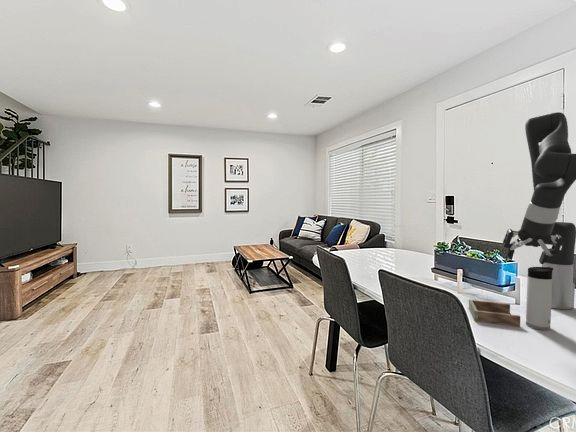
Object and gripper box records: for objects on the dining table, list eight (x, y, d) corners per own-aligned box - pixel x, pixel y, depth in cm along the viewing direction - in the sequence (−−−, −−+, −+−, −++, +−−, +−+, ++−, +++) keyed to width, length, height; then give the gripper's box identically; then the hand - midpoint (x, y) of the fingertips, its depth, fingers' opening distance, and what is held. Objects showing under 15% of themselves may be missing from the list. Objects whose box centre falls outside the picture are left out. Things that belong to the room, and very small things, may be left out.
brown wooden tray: (509, 313, 110) (509, 303, 110) (520, 326, 98) (520, 316, 98) (468, 308, 115) (468, 299, 115) (474, 320, 103) (474, 311, 103)
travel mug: (556, 331, 95) (558, 269, 94) (532, 329, 96) (534, 269, 95) (543, 323, 101) (545, 265, 100) (521, 321, 102) (523, 264, 101)
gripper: (565, 214, 91) (548, 258, 99) (510, 209, 97) (497, 250, 104) (574, 225, 85) (555, 271, 93) (515, 219, 91) (501, 262, 98)
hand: (525, 260), depth 98 cm, fingers open, 8 cm apart
